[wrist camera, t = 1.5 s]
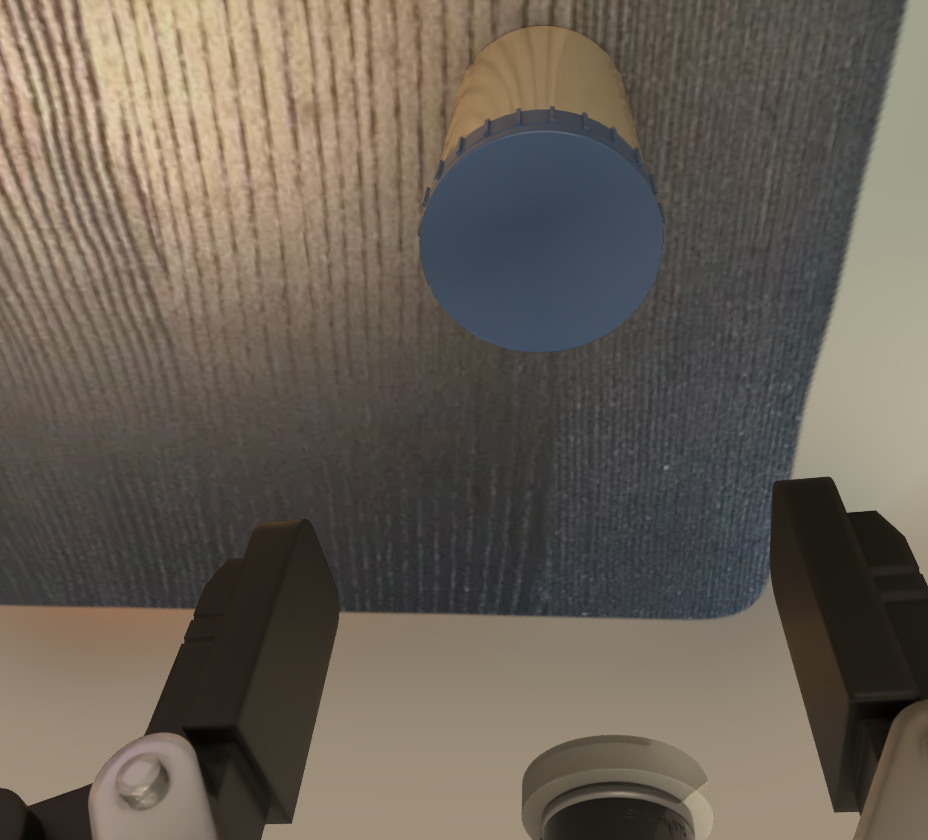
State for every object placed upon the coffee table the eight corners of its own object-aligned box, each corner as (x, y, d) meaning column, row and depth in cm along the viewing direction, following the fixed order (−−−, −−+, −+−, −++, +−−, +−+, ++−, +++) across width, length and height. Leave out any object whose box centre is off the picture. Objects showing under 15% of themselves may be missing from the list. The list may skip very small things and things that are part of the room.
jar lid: (584, 356, 24) (586, 388, 23) (388, 270, 23) (380, 298, 22) (707, 173, 21) (717, 198, 20) (485, 60, 20) (481, 80, 18)
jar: (573, 224, 31) (583, 371, 23) (427, 155, 29) (390, 286, 22) (661, 76, 27) (705, 192, 20) (501, -9, 26) (486, 82, 19)
